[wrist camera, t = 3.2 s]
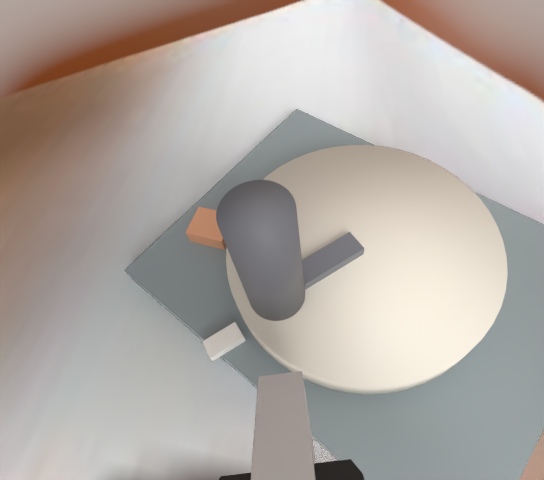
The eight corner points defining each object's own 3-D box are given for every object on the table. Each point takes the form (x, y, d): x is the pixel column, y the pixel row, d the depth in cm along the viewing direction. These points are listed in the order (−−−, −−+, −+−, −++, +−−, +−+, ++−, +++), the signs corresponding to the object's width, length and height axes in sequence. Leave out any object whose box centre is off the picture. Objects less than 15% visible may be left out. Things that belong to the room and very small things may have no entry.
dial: (183, 284, 23) (112, 184, 15) (328, 137, 28) (329, 3, 20) (402, 464, 17) (463, 446, 10) (538, 238, 22) (651, 106, 14)
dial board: (126, 284, 25) (110, 268, 23) (297, 121, 31) (295, 98, 29) (457, 582, 16) (474, 594, 14) (610, 272, 22) (636, 252, 20)
